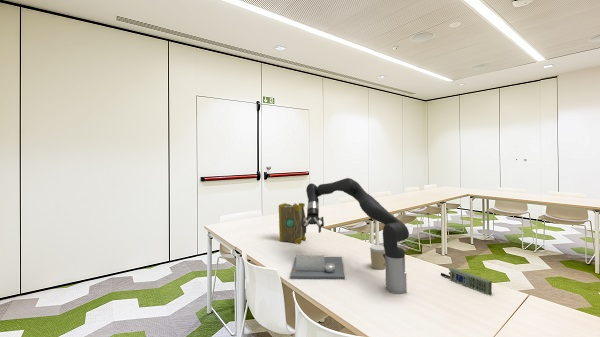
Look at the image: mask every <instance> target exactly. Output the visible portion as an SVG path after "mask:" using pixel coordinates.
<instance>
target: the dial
mask: <svg viewBox="0 0 600 337" xmlns="http://www.w3.org/2000/svg"><path fill="white" fill-rule="evenodd" d="M295 257H296V268H297V270H325V271H326V272H334V271H335V264H333V263H326V264H325V265H324V257H325V255H317V254H316V255H315V254H314V255H312V254H311V255H302V254H301V255H297V254H296V256H295Z"/></svg>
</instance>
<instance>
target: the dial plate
mask: <svg viewBox="0 0 600 337" xmlns="http://www.w3.org/2000/svg"><path fill="white" fill-rule="evenodd" d="M326 263H333V264H335V271H334V272H326V271H325V270H297V268H296V256H295V258H294V261H293V264H292V267H291V271H290V275H289V279H290V280H346V275H345V268H344V263H343V257H342V256H324V265H325V264H326Z"/></svg>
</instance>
